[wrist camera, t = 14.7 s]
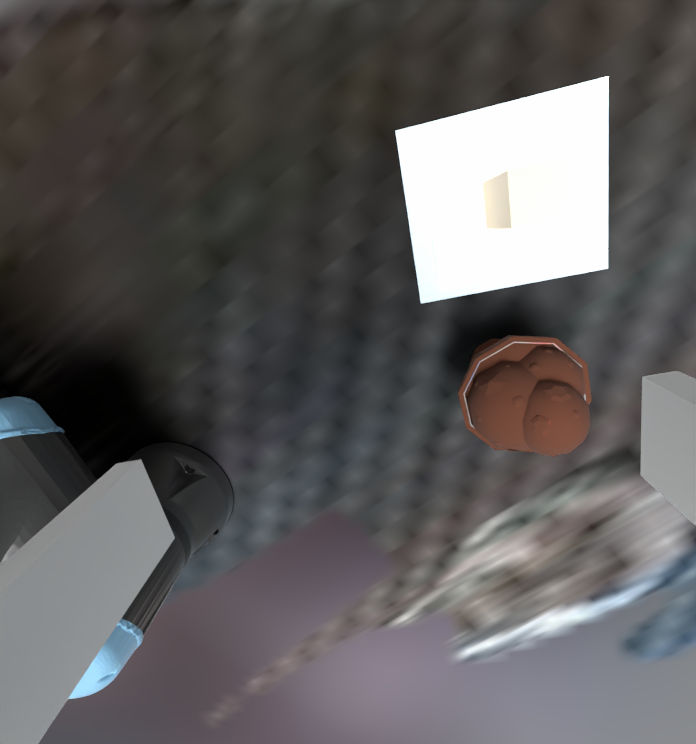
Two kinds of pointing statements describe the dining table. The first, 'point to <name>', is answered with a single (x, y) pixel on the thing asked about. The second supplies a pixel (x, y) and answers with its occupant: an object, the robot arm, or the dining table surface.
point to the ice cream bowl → (527, 395)
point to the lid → (509, 194)
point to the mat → (410, 136)
